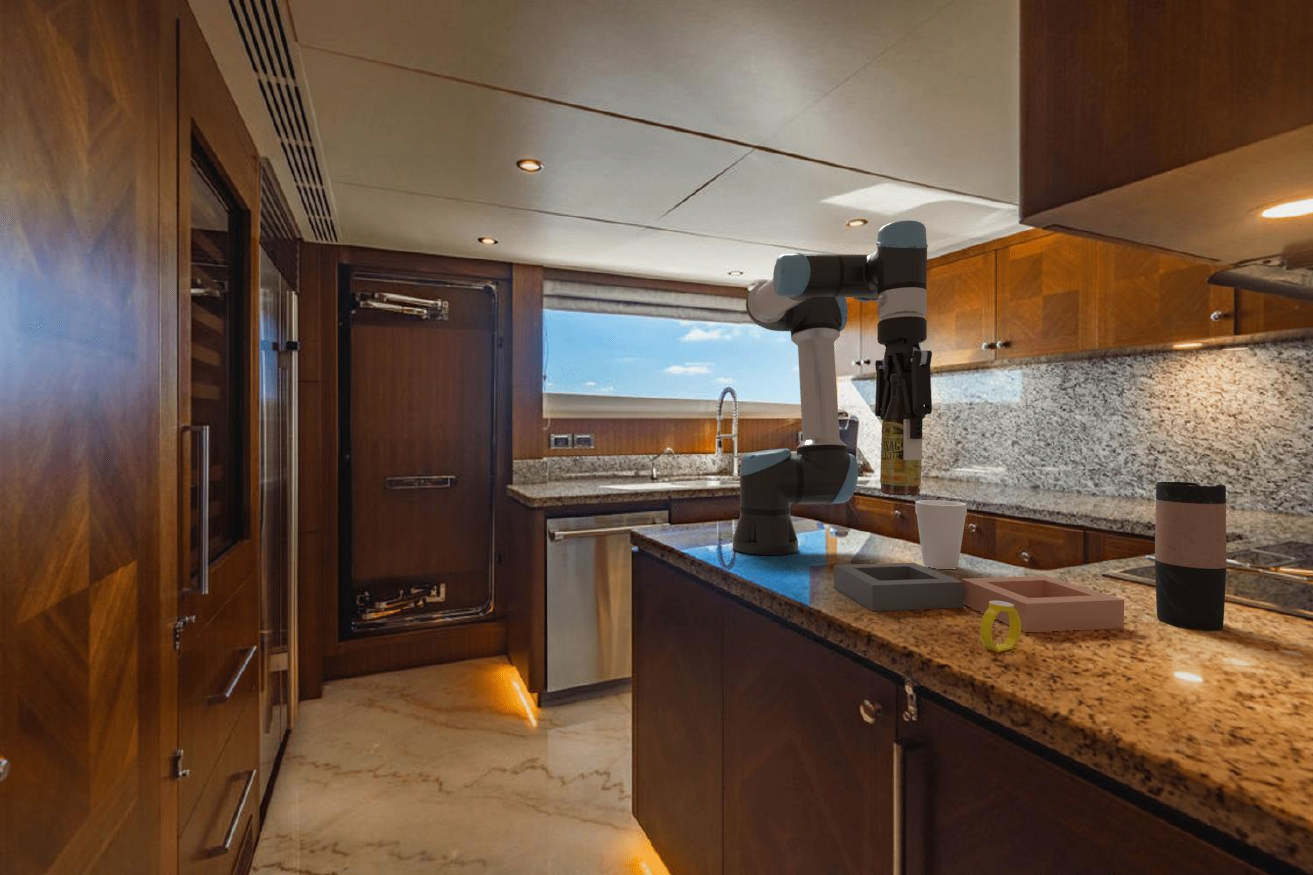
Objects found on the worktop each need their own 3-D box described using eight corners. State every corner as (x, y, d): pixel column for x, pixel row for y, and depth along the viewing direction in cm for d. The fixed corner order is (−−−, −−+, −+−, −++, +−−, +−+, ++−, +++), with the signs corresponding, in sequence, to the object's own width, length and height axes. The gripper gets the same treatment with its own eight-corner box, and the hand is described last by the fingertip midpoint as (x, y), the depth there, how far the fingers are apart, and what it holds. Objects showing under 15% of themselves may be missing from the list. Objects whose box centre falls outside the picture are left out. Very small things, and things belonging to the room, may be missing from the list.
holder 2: (960, 603, 95) (961, 578, 95) (1046, 600, 97) (1046, 575, 97) (1025, 632, 81) (1025, 603, 81) (1123, 628, 83) (1124, 599, 83)
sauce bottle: (872, 493, 100) (871, 375, 100) (900, 492, 103) (899, 377, 103) (902, 497, 94) (901, 371, 94) (931, 495, 97) (930, 373, 97)
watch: (1004, 644, 78) (1007, 598, 78) (1025, 651, 75) (1028, 604, 75) (973, 648, 75) (976, 601, 75) (994, 655, 73) (996, 607, 73)
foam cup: (955, 562, 126) (956, 500, 125) (974, 572, 116) (974, 505, 116) (909, 561, 127) (909, 500, 126) (923, 571, 117) (924, 505, 117)
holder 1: (833, 587, 105) (833, 564, 105) (913, 584, 107) (913, 562, 107) (872, 611, 91) (872, 585, 91) (963, 607, 93) (963, 582, 93)
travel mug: (1162, 626, 84) (1163, 484, 84) (1148, 611, 91) (1149, 480, 91) (1235, 634, 80) (1236, 487, 80) (1214, 619, 87) (1215, 482, 87)
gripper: (854, 328, 107) (854, 457, 107) (911, 306, 88) (911, 461, 88) (893, 329, 108) (893, 456, 108) (958, 307, 89) (958, 461, 89)
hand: (901, 458), depth 98 cm, fingers closed on sauce bottle, 6 cm apart
